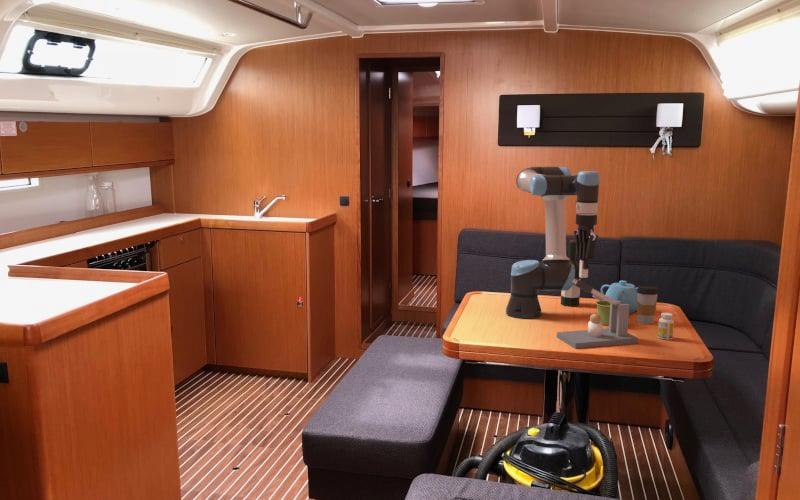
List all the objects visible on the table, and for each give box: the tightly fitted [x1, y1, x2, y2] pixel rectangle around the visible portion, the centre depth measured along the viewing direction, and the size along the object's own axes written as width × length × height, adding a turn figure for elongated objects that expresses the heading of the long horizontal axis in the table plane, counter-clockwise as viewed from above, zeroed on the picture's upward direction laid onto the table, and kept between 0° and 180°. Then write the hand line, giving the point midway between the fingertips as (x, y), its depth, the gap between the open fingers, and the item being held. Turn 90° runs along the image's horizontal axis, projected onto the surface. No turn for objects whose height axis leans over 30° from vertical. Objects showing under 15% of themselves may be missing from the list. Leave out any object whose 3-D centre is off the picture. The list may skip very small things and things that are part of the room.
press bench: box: [556, 301, 639, 349], centre depth 242 cm, size 14×26×14 cm, turn 104°
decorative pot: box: [598, 279, 638, 315], centre depth 285 cm, size 16×16×14 cm
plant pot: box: [595, 300, 610, 327], centre depth 265 cm, size 9×9×9 cm
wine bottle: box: [560, 239, 582, 308], centre depth 294 cm, size 8×8×30 cm
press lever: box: [571, 278, 621, 307], centre depth 240 cm, size 4×23×3 cm, turn 104°
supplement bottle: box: [657, 312, 675, 341], centre depth 246 cm, size 5×5×10 cm
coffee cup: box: [636, 284, 659, 325], centre depth 267 cm, size 8×8×15 cm
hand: (583, 277), depth 238 cm, fingers closed
